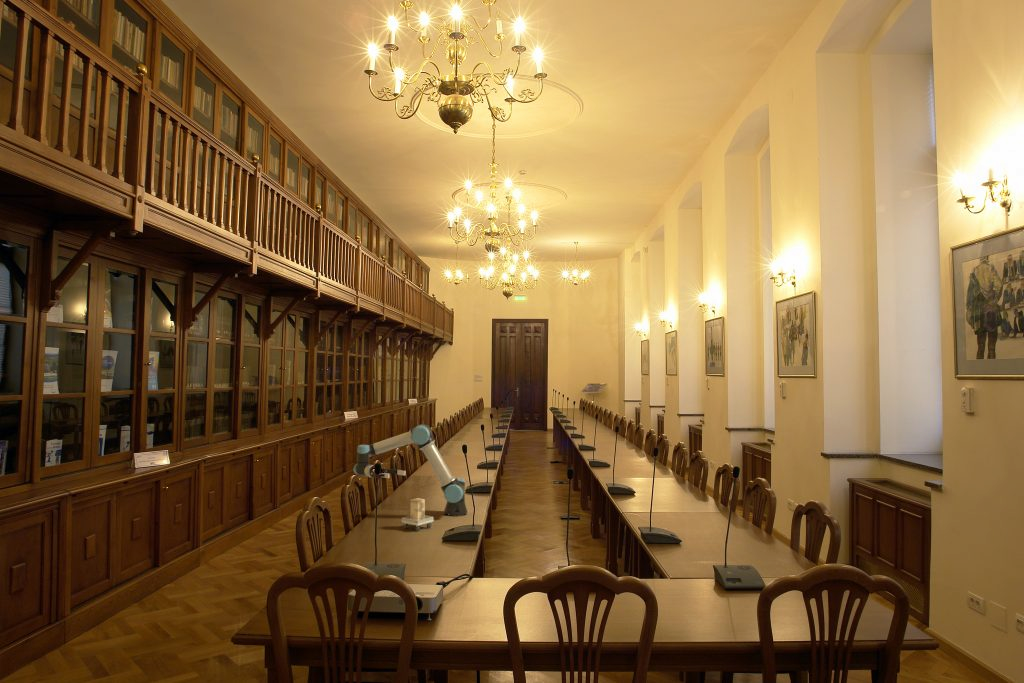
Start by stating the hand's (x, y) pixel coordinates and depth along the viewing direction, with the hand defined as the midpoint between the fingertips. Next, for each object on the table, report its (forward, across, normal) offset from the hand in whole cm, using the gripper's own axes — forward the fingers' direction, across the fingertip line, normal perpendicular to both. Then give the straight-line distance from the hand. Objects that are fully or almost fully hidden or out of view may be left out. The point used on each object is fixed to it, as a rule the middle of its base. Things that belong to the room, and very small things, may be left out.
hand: (397, 474), depth 406 cm
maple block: (+18, 0, -25) cm, 31 cm away
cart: (+18, 0, -30) cm, 35 cm away
